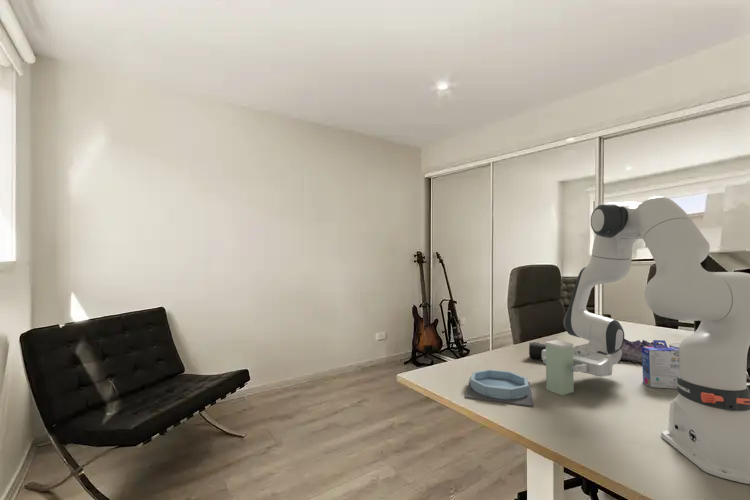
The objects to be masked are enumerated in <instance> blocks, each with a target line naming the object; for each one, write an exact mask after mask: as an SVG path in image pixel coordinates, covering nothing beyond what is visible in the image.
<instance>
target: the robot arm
mask: <svg viewBox="0 0 750 500" xmlns="http://www.w3.org/2000/svg"><path fill="white" fill-rule="evenodd" d="M590 226H591V229H592V231H593V232H594V233H595V236H594V239H593V245H592V251H591V257H590V261H589V263H588V264H587V266H585V267H582V269H580V271H579V273H578V275H577V279H576V282H575V284H574V288H573V292H572V295H571V298H570V299H571V300H570V303H569V306H568V308H567V310H566V312H565V314H564V317H563V327H564V329H565V331H566V332H567V334H568V335H570V336H573V337H576V338H580V339H583V340H586V341H588V342H587V343H584V344H578V345H576V346H573V365H571V371H573V373H577V372H579V373H583V374H588V375H592V376H596V377H602V378H603V377H607V376H609V377H610V376H612V374H613V366H614V365H616V364H617V363H618V362H619V361H620V359H621V357H622V350H621V348H622V345H623V343H624V339H625V332H624V328H623V326H622V324H621V323H620V321H618V320H617V319H613V318H611V317H608V316H605V315H599V314H596V313H593V312H590V311H588V309H587V304H588V301H589V297H590V296H591V291H592V289H593V288H594V287H595V286H597V285H603V284H612V283H614V282H618V281H621V280H622V279H624V278H625V277H627V276H628V274H629V272H630V269H631V266H632V259H633V258H632V257H633V247H634V246H633V245H634V244H635V242H636V241H638V240H641V239H642V240H643V242H644V243H645V245H646V247H647V249H648V250H649V252H650V254H651V257H652V258H653V261H654V264H655V267H656V269H655V270H656V271H655V275H653V277H651V279H649V281H648V282H647V284H646V285H645V290H644V300H645V302H646V305H647V307H648V308H649V310H651V311H652V313H654V314H655V315H657V316H658V317H663V318H667V319H672V320H678V321H683V322H684V321H689V322H690V321H691V322H692V321H693V322H695V321H696V322H697V321H698V322H699V321H700V324H699V325H698V327H697V329H696V330H695V331H694V332H692V334H690V335H689V336H687V337H686V338H684V339H682V340H681V342H680V346H679V375H678V376H677V381H676V384H677V389H676V392H677V395H676V396H675V398H673V399H672V400H671V401H670V403H669V410H668V411H669V415H668V429H667V430H663V431H661V433H660V434H661V435H660V436H661V438H662V439H663V440H665V441H666V442H667V443H668V444H670V445H671V446H672V447H674V448H675V449H676V450H677V451H679V453H681V454H682V455H683V456H685V457H686V458H687V459H688V460H689V461H691V462H692V463H694V464H695V465H696V466H698V468H699V469H700V470H702V471H704V472H705V473H707V474H710V475H712V476H715V477H718V478H722V479H726V480H728V481H734V482H738V483H741V484H748V485H750V388H749V387H748V386H747V364H748V363H747V361H748V353H749V348H750V273H748V272H743V271H742V272H741V271H717V272H716V271H708V270H706V269H705V268H704V267H703V266H702V264H701V263H702V262H704V261H705V260H706V259H707V257H708V255H709V253H710V249H711V248H710V247H711V246H710V243H709V242H708V239H706V237H705V236H704V234H703V233H702V232H701V230H700V229H699V227H698V226H697V225H696V224H695V222H694V221H693V219H692V218H691V217H690V216H689V214H688V213H687V212H686V211H685V209H683V208H682V207H681V206H680V205H679V204H678V203H676V202H675V201H673V199H671V198H669V197H667V196H653V197H650V198H647V199H645V200H644V201H642V202H637V201H624V202H623V201H622V202H606V203H603V204H599V205H597V206H596V207H595V208H594V210H593V211H592V212H591V215H590ZM621 360H622V359H621ZM541 361H543V363H544V364H546V349H544V350H542V360H541Z"/></svg>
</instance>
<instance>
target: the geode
mask: <svg viewBox="0 0 750 500" xmlns="http://www.w3.org/2000/svg"><path fill="white" fill-rule="evenodd" d="M656 344H657V345H664V343H661V342H658V343H656ZM642 347H654V343H653V341H651V342H649V341H647V340H645V339H642V341H641V340H639V339H638V340H636V341H635V340H632V341H630V340H628V339H626V338H624V343H623V345H622V348H621V350H622V357H621V359H620V360H623V361H629V362H633V363H637V364H641V365H642ZM620 360H619V361H620Z"/></svg>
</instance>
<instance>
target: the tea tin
mask: <svg viewBox="0 0 750 500" xmlns="http://www.w3.org/2000/svg"><path fill="white" fill-rule="evenodd" d="M544 344H545V345H546V363H545V381H546V382H545V387H546V391H550V392H553V393H554V394H557V393H558V395H560V396H564V395H565V396H566V395H568V393H569V394H572V393H574V371H571V365H573V347H574V343H571V342H568V341H563V340H558V339H554V340H550V341H545V343H544ZM571 392H572V393H571Z"/></svg>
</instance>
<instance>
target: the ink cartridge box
mask: <svg viewBox="0 0 750 500" xmlns="http://www.w3.org/2000/svg"><path fill="white" fill-rule="evenodd" d="M652 342H653V343H654V347H642V364H641V366H642V367H641V368H642V383H643V384H645V385H647V387H648V388H659V389H662V388H663V389H672V390H673V389H676V390H677V384H676V381H677V376H678V375H679V349H677V348H674V347H669V346H668V345H667V344H668V343H667V342H666V340H664V339H663V340H661V339H660V340H659V339H658V340H657V339H653V340H652ZM656 343H662V344H663V345H657V344H656Z"/></svg>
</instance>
